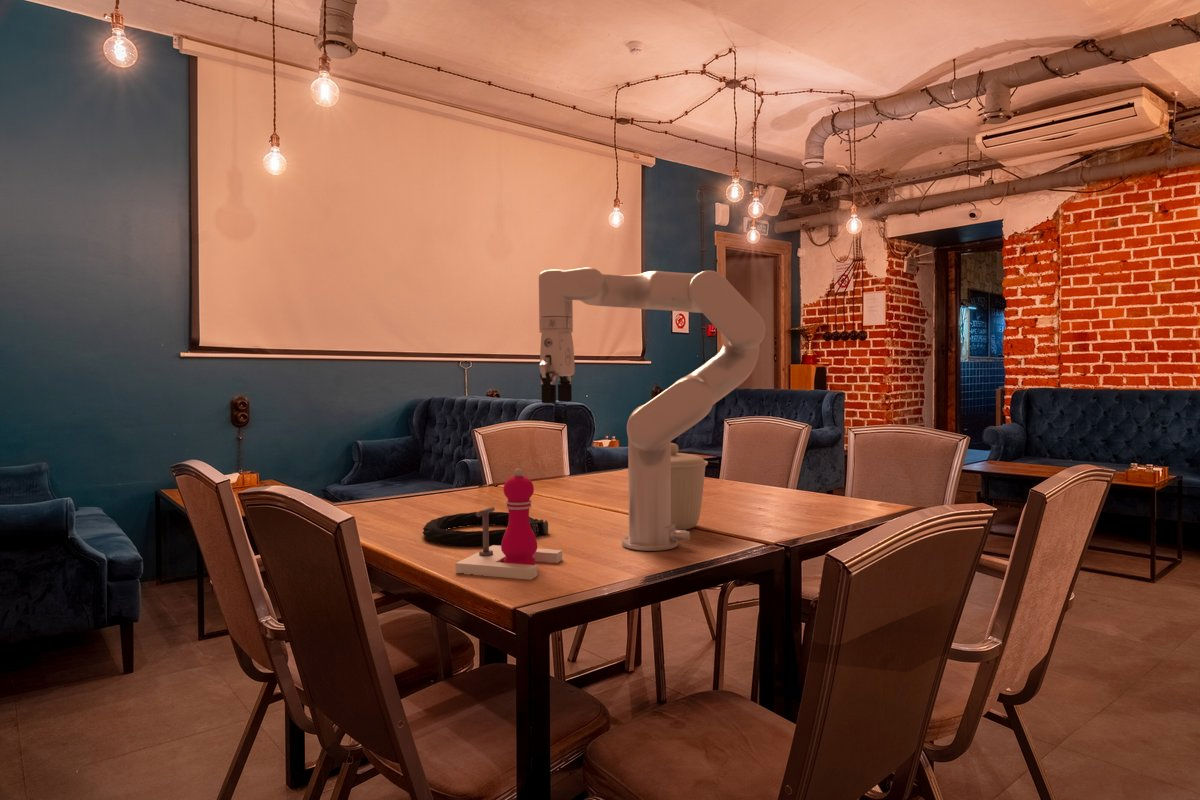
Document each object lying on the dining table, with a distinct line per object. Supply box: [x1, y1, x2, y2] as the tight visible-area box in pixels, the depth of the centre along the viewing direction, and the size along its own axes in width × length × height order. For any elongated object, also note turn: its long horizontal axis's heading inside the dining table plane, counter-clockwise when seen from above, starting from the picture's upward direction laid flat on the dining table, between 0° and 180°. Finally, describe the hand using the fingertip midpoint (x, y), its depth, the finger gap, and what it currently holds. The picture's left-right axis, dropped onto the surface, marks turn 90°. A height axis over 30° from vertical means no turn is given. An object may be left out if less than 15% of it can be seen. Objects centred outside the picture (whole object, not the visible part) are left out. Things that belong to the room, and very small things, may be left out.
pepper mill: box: [500, 467, 538, 565], centre depth 151 cm, size 7×7×20 cm
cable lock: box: [422, 511, 549, 548], centre depth 184 cm, size 28×4×30 cm
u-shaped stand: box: [455, 506, 563, 581], centre depth 153 cm, size 16×16×11 cm
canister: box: [671, 442, 709, 530], centre depth 190 cm, size 18×18×21 cm
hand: (557, 402), depth 171 cm, fingers open, 9 cm apart
